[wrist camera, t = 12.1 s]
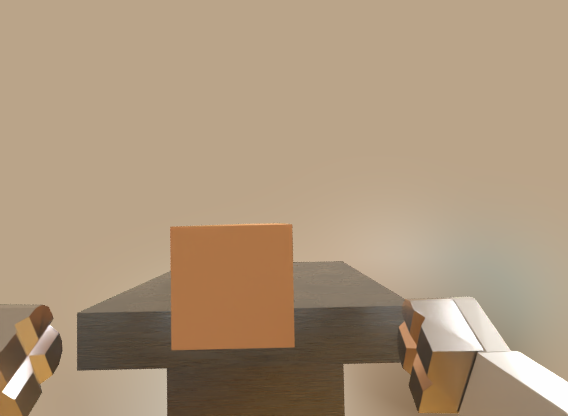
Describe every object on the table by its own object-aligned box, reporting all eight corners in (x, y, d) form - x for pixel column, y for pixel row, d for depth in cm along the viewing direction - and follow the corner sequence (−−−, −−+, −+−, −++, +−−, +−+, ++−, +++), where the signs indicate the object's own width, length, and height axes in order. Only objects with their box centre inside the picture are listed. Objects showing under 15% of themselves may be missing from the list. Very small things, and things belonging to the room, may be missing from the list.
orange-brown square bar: (248, 258, 34) (247, 223, 34) (283, 258, 34) (282, 223, 34) (171, 350, 10) (170, 226, 10) (294, 347, 10) (292, 224, 10)
